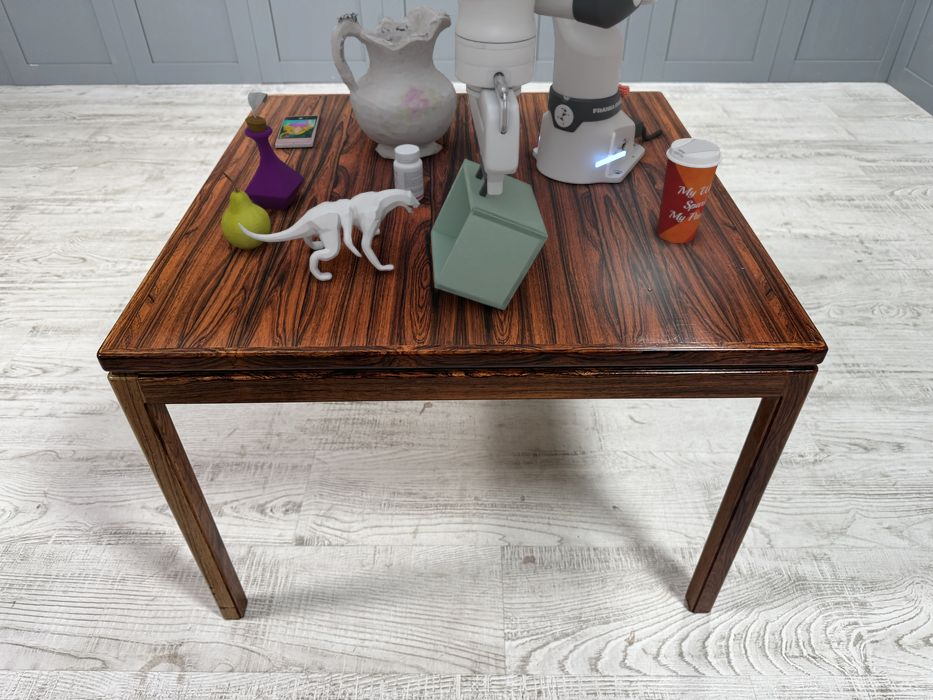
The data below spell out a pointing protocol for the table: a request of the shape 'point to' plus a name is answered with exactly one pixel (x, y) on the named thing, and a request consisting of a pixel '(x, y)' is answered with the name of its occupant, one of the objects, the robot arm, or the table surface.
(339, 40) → the ceramic pitcher
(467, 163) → the basket
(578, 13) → the robot arm
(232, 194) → the fruit
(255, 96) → the perfume bottle
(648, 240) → the table surface
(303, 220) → the white toy dinosaur
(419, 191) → the pill bottle
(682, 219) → the paper cup
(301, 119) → the smartphone
